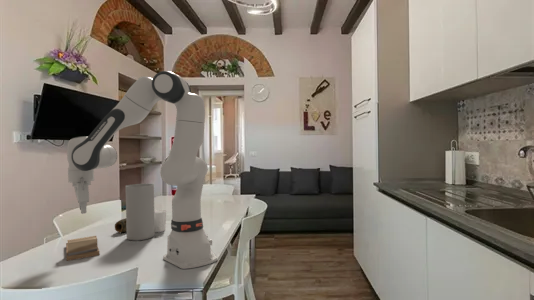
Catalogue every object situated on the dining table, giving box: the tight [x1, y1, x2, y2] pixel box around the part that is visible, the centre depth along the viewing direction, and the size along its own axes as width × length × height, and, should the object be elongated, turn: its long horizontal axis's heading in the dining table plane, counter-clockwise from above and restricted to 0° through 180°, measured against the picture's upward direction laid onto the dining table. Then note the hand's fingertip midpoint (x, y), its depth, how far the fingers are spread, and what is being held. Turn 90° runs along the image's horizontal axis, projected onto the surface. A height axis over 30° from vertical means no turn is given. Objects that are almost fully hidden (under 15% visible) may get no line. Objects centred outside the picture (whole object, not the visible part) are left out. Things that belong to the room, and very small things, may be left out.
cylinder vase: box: [125, 183, 156, 241], centre depth 146 cm, size 12×12×25 cm
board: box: [65, 242, 100, 262], centre depth 127 cm, size 21×11×2 cm, turn 34°
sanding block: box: [67, 235, 99, 256], centre depth 122 cm, size 5×10×5 cm, turn 124°
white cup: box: [154, 209, 167, 233], centre depth 157 cm, size 8×8×10 cm
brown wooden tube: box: [114, 217, 127, 234], centre depth 159 cm, size 15×7×7 cm, turn 170°
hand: (83, 211), depth 121 cm, fingers open, 8 cm apart
